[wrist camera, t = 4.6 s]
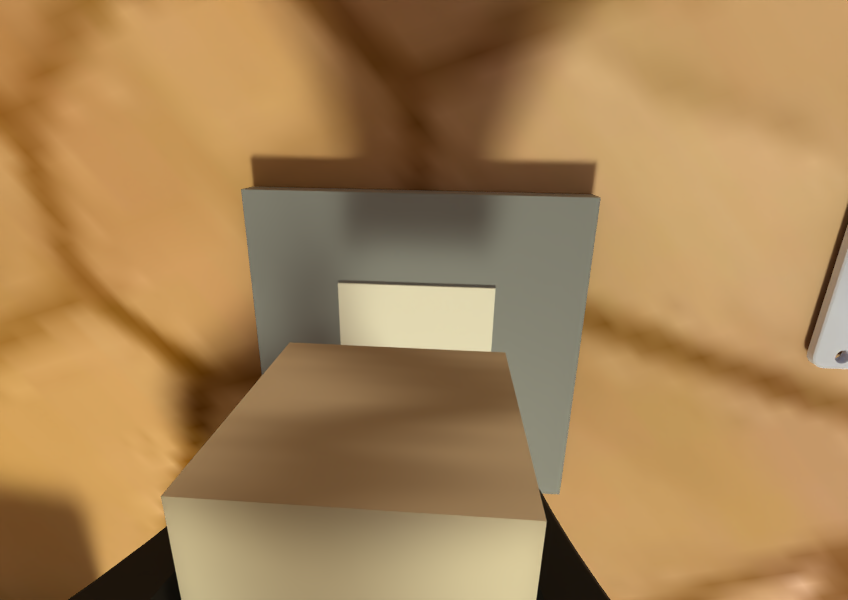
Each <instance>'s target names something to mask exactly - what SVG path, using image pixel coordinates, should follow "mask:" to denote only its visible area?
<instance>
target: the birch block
mask: <svg viewBox="0 0 848 600" xmlns="http://www.w3.org/2000/svg"><path fill="white" fill-rule="evenodd" d="M161 499H162V504H163V509H164V514H165V519H166V524H167V529H168V534H169V539H170V545H171V550H172V555H173V560H174V565H175V570H176V575H177V580H178V585H179V591H180V596H181V600H536V598H537V590H538V583H539V575H540V568H541V560H542V553H543V546H544V538H545V531H546V523H547V520H546V516H545V512H544V508H543V504H542V500H541V496H540V492H539V488H538V484H537V480H536V475H535V471H534V467H533V463H532V459H531V455H530V451H529V447H528V443H527V439H526V435H525V431H524V427H523V423H522V418H521V414H520V410H519V406H518V402H517V398H516V394H515V390H514V386H513V382H512V378H511V374H510V370H509V366H508V361H507V357H506V353H505V352H485V351H464V350H442V349H421V348H399V347H377V346H356V345H334V344H312V343H291V342H290V343H289V344H288V345H287V346H286V347H285V349H284V350H283V351H282V352H281V353H280V355H279V356H278V357H277V358H276V359H275V361H274V362H273V363H272V364H271V365H270V367H269V368H268V369H267V370H266V371H265V373H264V374H263V375H262V376H261V377H260V379H259V380H258V381H257V382H256V383H255V385H254V386H253V387H252V388H251V389H250V390H249V392H248V393H247V394H246V395H245V396H244V398H243V399H242V400H241V401H240V402H239V404H238V405H237V406H236V407H235V408H234V410H233V411H232V412H231V413H230V414H229V416H228V417H227V418H226V419H225V420H224V422H223V423H222V424H221V425H220V426H219V428H218V429H217V430H216V431H215V432H214V434H213V435H212V436H211V437H210V438H209V439H208V441H207V442H206V443H205V444H204V445H203V447H202V448H201V449H200V450H199V451H198V453H197V454H196V455H195V456H194V457H193V459H192V460H191V461H190V462H189V463H188V465H187V466H186V467H185V468H184V469H183V471H182V472H181V473H180V474H179V475H178V477H177V478H176V479H175V480H174V481H173V483H172V484H171V485H170V486H169V487H168V488H167V490H166V491H165V492H164V493H163V494H162V496H161Z"/></svg>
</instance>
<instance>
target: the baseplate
mask: <svg viewBox="0 0 848 600" xmlns="http://www.w3.org/2000/svg"><path fill="white" fill-rule="evenodd" d="M241 192H242V201H243V209H244V218H245V227H246V236H247V245H248V254H249V263H250V272H251V281H252V290H253V299H254V308H255V317H256V326H257V335H258V344H259V353H260V362H261V370H262V375H263V374H264V373H265V371H266V370H267V369H268V368H269V367H270V365H271V364H272V363H273V362H274V361H275V359H276V358H277V357H278V356H279V355H280V353H281V352H282V351H283V350H284V349H285V347H286V346H287V345H288V344H289V343H290V342H291V343H312V344H334V345H356V346H377V347H399V348H421V349H442V350H464V351H485V352H505V353H506V357H507V361H508V366H509V370H510V374H511V378H512V382H513V386H514V390H515V394H516V398H517V402H518V406H519V410H520V414H521V418H522V423H523V427H524V431H525V435H526V439H527V443H528V447H529V451H530V455H531V459H532V463H533V467H534V471H535V475H536V480H537V484H538V488H539V489H540V491H541V492H542V493H545V494H559V493H560V486H561V479H562V472H563V465H564V457H565V450H566V443H567V436H568V429H569V421H570V414H571V407H572V400H573V393H574V385H575V378H576V371H577V364H578V357H579V349H580V342H581V335H582V328H583V321H584V314H585V306H586V299H587V292H588V285H589V278H590V270H591V263H592V256H593V249H594V242H595V234H596V227H597V220H598V213H599V206H600V197H598V196H595V195H593V194H559V193H515V192H471V191H427V190H383V189H339V188H295V187H249V188H245V189H241Z"/></svg>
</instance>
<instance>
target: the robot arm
mask: <svg viewBox="0 0 848 600" xmlns="http://www.w3.org/2000/svg"><path fill="white" fill-rule="evenodd" d="M840 351H842V354H841V355H840V356H839V357H837V358H835V356H836V355H837V353H839V352H840ZM807 358H808V360H809V361H810V362H811V363H813V364H814V365H816V366H818V367H821V368H832V369H848V225H847V229H846V232H845V235H844V238H843V241H842V244H841V247H840V251H839V254H838V257H837V260H836V263H835V266H834V269H833V273H832V276H831V279H830V282H829V285H828V288H827V291H826V295H825V298H824V301H823V304H822V307H821V310H820V313H819V317H818V320H817V323H816V326H815V329H814V332H813V335H812V339H811V342H810V345H809V348H808V351H807ZM539 492H540V496H541V500H542V504H543V508H544V512H545V516H546V520H547V523H546V531H545V538H544V546H543V553H542V560H541V568H540V575H539V583H538V590H537V598H536V600H610V599H609V597H608V596H607V594H606V593H605V592H604V590H603V589H602V587H601V586H600V585H599V583H598V582H597V580H596V579H595V577H594V576H593V574H592V573H591V572H590V570H589V569H588V567H587V566H586V564H585V563H584V561H583V560H582V558H581V557H580V555H579V554H578V552H577V551H576V549H575V548H574V546H573V545H572V543H571V542H570V540H569V538H568V537H567V535H566V534H565V532H564V530H563V529H562V527H561V525H560V524H559V522H558V520H557V519H556V517H555V515H554V514H553V512H552V510H551V509H550V507H549V505H548V503H547V502H546V500H545V498H544V496H543V494H542V492H541V491H540V489H539ZM68 600H181V596H180V591H179V585H178V580H177V575H176V570H175V565H174V560H173V555H172V550H171V545H170V539H169V534H168V529H167V526H166V527H165V528H164V529H163V530H161V531H160V532H159V533H158V534H156V535H155V536H154V537H153V538H151V539H150V540H149V541H148V542H146V543H145V544H144V545H142V546H141V547H140V548H138V549H137V550H136V551H134V552H133V553H132V554H130V555H129V556H128V557H126V558H125V559H124V560H122V561H121V562H119V563H118V564H117V565H115V566H114V567H113V568H111V569H110V570H109V571H107V572H106V573H105V574H103V575H102V576H101V577H99V578H98V579H97V580H95V581H94V582H93V583H91V584H90V585H88V586H87V587H86V588H84V589H83V590H81V591H80V592H78V593H77V594H76V595H74V596H73V597H71V598H70V599H68Z"/></svg>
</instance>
